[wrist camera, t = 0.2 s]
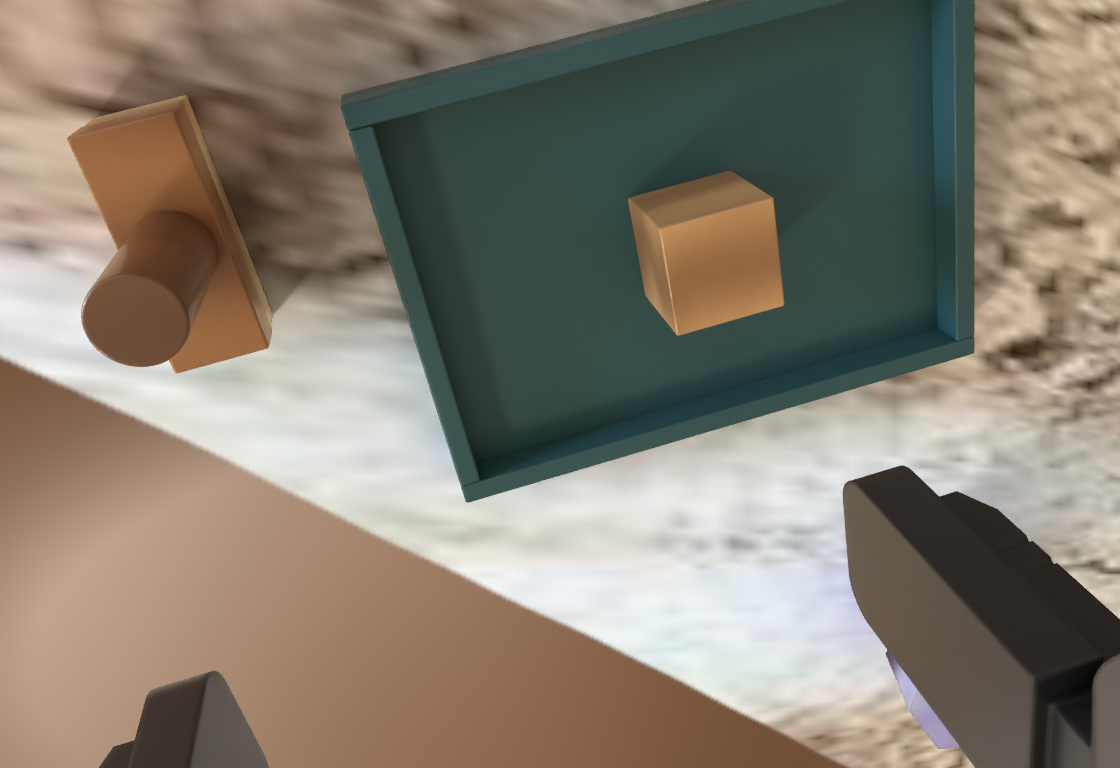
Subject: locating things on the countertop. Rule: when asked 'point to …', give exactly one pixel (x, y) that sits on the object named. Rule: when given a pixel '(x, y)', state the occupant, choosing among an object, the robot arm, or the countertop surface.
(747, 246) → the cork block
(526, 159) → the tray
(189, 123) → the stamp
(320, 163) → the countertop surface
